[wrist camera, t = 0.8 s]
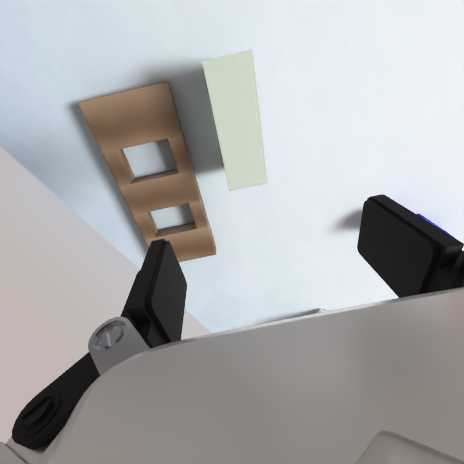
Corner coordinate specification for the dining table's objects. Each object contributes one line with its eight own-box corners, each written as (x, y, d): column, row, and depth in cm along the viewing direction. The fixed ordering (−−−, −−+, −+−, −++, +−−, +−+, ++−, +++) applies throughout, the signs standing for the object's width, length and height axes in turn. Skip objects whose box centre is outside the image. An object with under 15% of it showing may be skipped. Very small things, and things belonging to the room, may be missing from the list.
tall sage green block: (203, 68, 24) (201, 61, 18) (241, 59, 24) (252, 49, 18) (225, 170, 30) (229, 191, 24) (255, 163, 29) (267, 182, 24)
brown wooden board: (86, 101, 24) (77, 102, 23) (168, 82, 24) (165, 82, 22) (160, 258, 36) (157, 266, 34) (215, 246, 36) (215, 254, 34)
